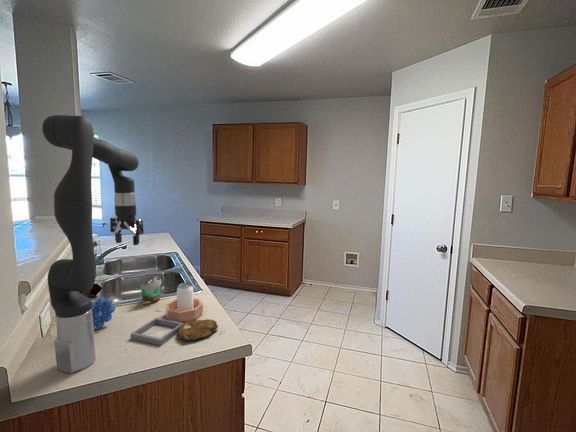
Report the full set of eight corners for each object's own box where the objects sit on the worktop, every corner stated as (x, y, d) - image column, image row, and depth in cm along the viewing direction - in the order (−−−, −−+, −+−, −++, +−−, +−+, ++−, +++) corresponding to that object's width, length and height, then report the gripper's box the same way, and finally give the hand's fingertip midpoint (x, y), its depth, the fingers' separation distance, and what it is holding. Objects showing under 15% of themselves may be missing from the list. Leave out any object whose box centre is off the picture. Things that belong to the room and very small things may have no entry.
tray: (161, 345, 109) (160, 340, 108) (130, 339, 112) (130, 333, 112) (184, 328, 121) (183, 323, 121) (155, 322, 125) (155, 317, 124)
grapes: (113, 319, 126) (111, 291, 124) (118, 325, 121) (116, 296, 119) (78, 329, 118) (76, 298, 116) (82, 336, 113) (80, 304, 112)
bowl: (189, 325, 123) (188, 314, 122) (159, 319, 127) (158, 308, 126) (208, 310, 136) (208, 300, 136) (180, 305, 140) (180, 295, 140)
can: (188, 317, 128) (188, 289, 126) (174, 315, 129) (173, 287, 127) (196, 310, 134) (196, 283, 132) (182, 308, 135) (181, 281, 133)
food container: (155, 307, 138) (154, 285, 137) (141, 306, 138) (140, 284, 137) (166, 295, 150) (165, 275, 149) (153, 295, 151) (153, 275, 149)
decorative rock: (210, 322, 127) (173, 335, 117) (209, 313, 126) (172, 325, 117) (223, 332, 118) (185, 347, 109) (223, 322, 118) (184, 336, 108)
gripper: (103, 203, 123) (105, 244, 125) (132, 206, 119) (134, 247, 121) (118, 202, 130) (120, 240, 132) (147, 204, 126) (148, 243, 128)
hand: (127, 243), depth 127 cm, fingers open, 8 cm apart
